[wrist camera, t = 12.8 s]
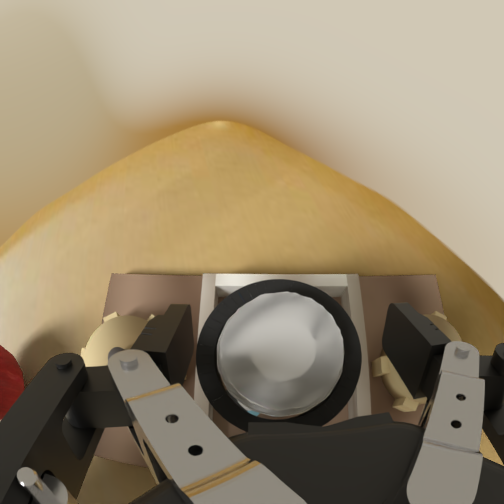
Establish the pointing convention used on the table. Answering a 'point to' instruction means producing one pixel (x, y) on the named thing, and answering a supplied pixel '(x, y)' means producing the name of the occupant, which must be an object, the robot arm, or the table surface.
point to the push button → (278, 355)
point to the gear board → (221, 285)
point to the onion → (9, 381)
